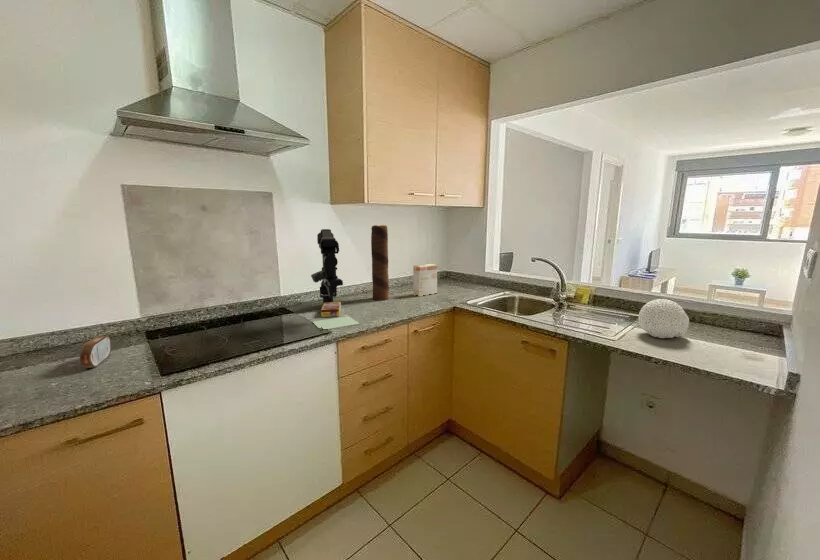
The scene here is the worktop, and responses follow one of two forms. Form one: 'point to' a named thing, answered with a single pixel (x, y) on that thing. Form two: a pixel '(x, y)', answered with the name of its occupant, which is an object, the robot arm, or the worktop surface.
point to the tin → (95, 351)
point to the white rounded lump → (663, 319)
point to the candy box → (331, 309)
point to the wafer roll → (380, 262)
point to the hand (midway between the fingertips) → (330, 297)
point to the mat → (336, 323)
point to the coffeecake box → (424, 279)
